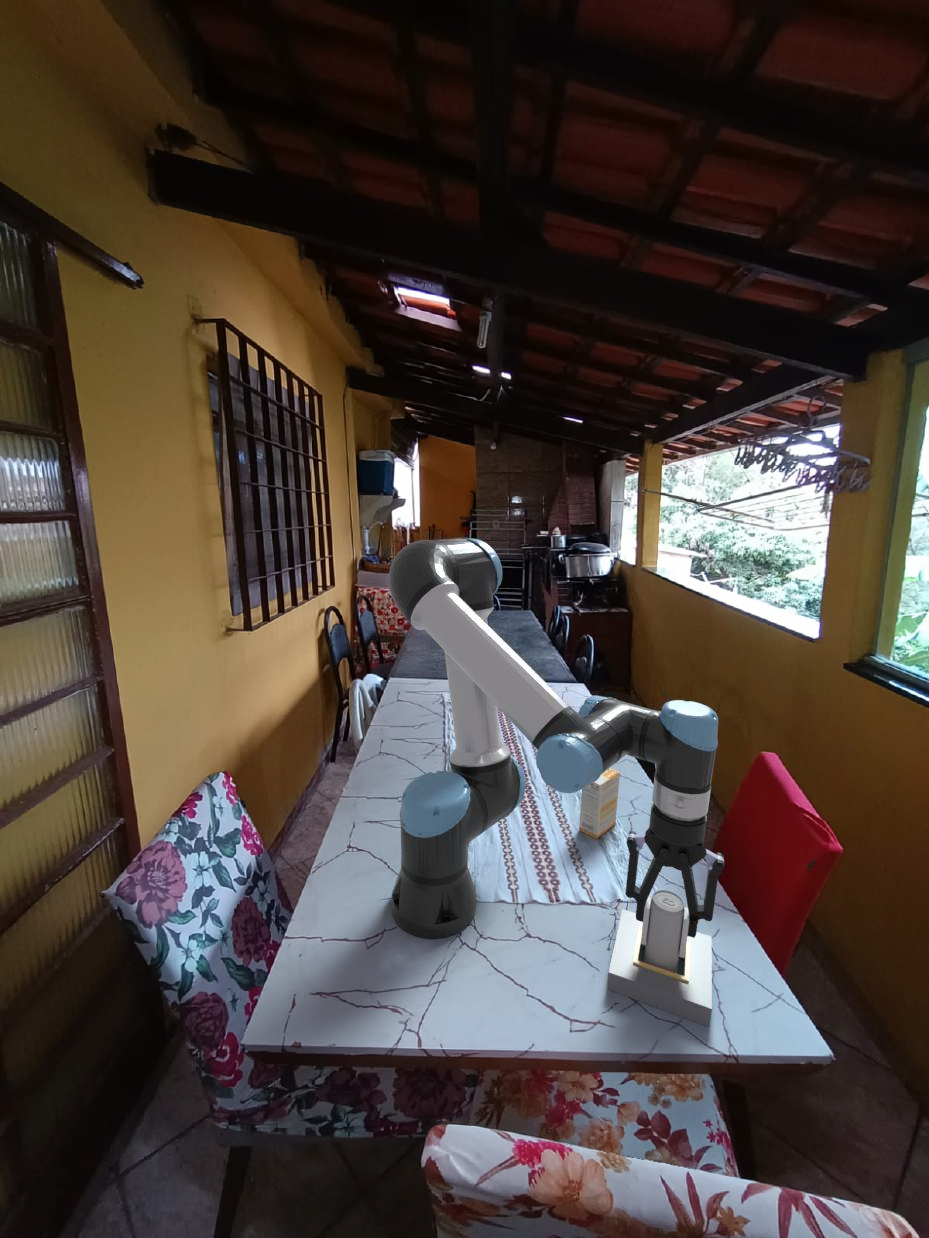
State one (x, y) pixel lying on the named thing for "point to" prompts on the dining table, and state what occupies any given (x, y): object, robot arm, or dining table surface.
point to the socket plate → (663, 974)
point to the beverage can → (664, 930)
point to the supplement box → (599, 804)
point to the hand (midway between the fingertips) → (662, 943)
